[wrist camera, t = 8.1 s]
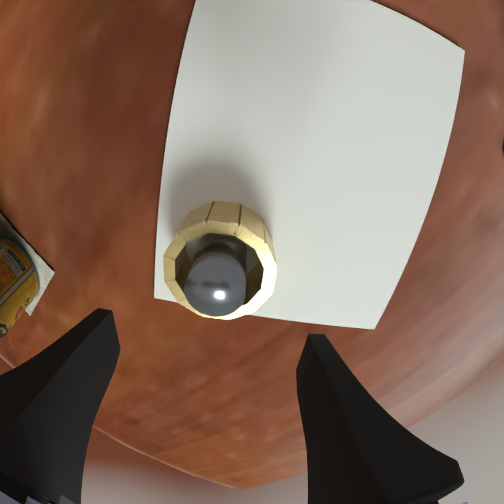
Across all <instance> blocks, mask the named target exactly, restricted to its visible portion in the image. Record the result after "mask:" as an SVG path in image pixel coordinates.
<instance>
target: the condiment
mask: <svg viewBox="0 0 504 504" xmlns="http://www.w3.org/2000/svg"><path fill="white" fill-rule="evenodd" d="M8 234H9V236H8ZM53 275H54V272H53V271H52V270H51V269H50V268H49V266H48V265H47V264H46V263H45V262H44V261H43V260H42V259H41V258H40V256H39V255H37V254H36V253H35V252H34V250H33V249H32V248H31V247H30V246H29V245H28V244H27V243H26V242H25V240H24V239H23V238H22V237H21V236H19V234H18V233H17V232H15V231H14V230H13V229H12V227H11V225H10V224H9V223H8V222H7V221H6V219H5V218H4V217H3V215H2V214H1V213H0V341H1V339H2V338H3V337H4V336H5V335H6V333H7V332H8V330H9V329H10V328H11V327H12V326H13V324H14V323H15V321H16V320H17V319H18V318H19V317H20V316H21V314H22V313H23V311H24V310H25V311H26V312H27V313H28V314H29V316H31V314H32V312H33V310H34V308H35V306H36V305H37V303H38V301H39V299H40V298H41V296H42V294H43V292H44V290H45V289H46V287H47V285H48V283H49V282H50V280H51V278H52V277H53Z"/></svg>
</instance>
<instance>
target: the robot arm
mask: <svg viewBox="0 0 504 504" xmlns="http://www.w3.org/2000/svg"><path fill="white" fill-rule="evenodd" d="M119 353H120V345H119V340H118V336H117V331H116V327H115V322H114V317H113V312H112V311H111V310H106V309H101V308H98V309H96V310H95V311H93V312H92V313H91V314H90V315H88V316H87V317H86V318H85V319H83V320H82V321H81V322H80V323H78V324H77V325H76V326H75V327H73V328H72V329H71V330H69V331H68V332H67V333H66V334H64V335H63V336H62V337H61V338H59V339H58V340H57V341H55V342H54V343H53V344H51V345H50V346H48V347H47V348H46V349H44V350H43V351H42V352H40V353H39V354H37V355H36V356H34V357H33V358H31V359H30V360H28V361H26V362H25V363H23V364H21V365H20V366H18V367H16V368H14V369H12V370H10V371H8V372H6V373H4V374H2V375H0V504H49V503H50V504H81V488H82V477H83V469H84V462H85V456H86V450H87V446H88V441H89V437H90V433H91V429H92V425H93V422H94V419H95V416H96V414H97V411H98V409H99V406H100V404H101V401H102V399H103V397H104V394H105V392H106V390H107V387H108V385H109V382H110V380H111V378H112V375H113V373H114V370H115V367H116V364H117V360H118V356H119ZM296 379H297V395H298V401H299V407H300V413H301V418H302V424H303V430H304V435H305V441H306V449H307V465H308V504H439V503H438V500H439V499H441V498H443V497H444V496H446V495H448V494H450V493H451V492H453V491H455V490H456V489H458V488H459V487H460V486H461V485H462V484H463V483H464V478H463V475H462V472H461V470H460V467H459V464H458V462H457V461H456V460H455V459H453V458H451V457H449V456H447V455H445V454H443V453H441V452H439V451H437V450H436V449H434V448H432V447H431V446H429V445H428V444H426V443H425V442H423V441H422V440H420V439H419V438H417V437H416V436H415V435H413V434H412V433H411V432H409V431H408V430H407V429H406V428H404V427H403V426H402V425H401V424H399V423H398V422H397V421H396V420H395V419H394V418H393V417H391V416H390V415H389V414H388V413H387V412H386V411H385V410H384V409H383V408H382V407H381V406H380V405H379V404H378V403H377V402H376V401H375V400H374V399H373V398H372V396H371V395H370V394H369V393H368V392H367V391H366V389H365V388H364V387H363V386H362V385H361V383H360V382H359V381H358V380H357V378H356V377H355V376H354V374H353V373H352V372H351V371H350V369H349V368H348V367H347V365H346V364H345V363H344V361H343V360H342V358H341V357H340V356H339V354H338V353H337V351H336V350H335V348H334V347H333V346H332V344H331V343H330V341H329V340H328V338H327V337H326V336H325V334H308V337H307V340H306V343H305V346H304V349H303V352H302V355H301V358H300V361H299V363H298V366H297V369H296ZM462 504H467V502H464V503H462Z"/></svg>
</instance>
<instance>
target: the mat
mask: <svg viewBox="0 0 504 504" xmlns="http://www.w3.org/2000/svg"><path fill="white" fill-rule="evenodd" d="M464 53H465V51H464V50H462V49H461V48H459V47H458V46H456V45H455V44H453V43H452V42H450V41H449V40H447V39H445V38H444V37H442V36H441V35H439V34H437V33H435V32H434V31H432V30H430V29H428V28H427V27H425V26H423V25H421V24H419V23H418V22H416V21H414V20H412V19H410V18H408V17H406V16H404V15H402V14H400V13H398V12H395V11H393V10H391V9H389V8H387V7H384V6H382V5H380V4H377V3H375V2H373V1H370V0H196V2H195V6H194V9H193V13H192V16H191V20H190V24H189V28H188V32H187V36H186V40H185V44H184V48H183V53H182V57H181V61H180V66H179V71H178V76H177V81H176V86H175V91H174V96H173V102H172V108H171V114H170V120H169V126H168V133H167V139H166V147H165V154H164V162H163V170H162V179H161V189H160V199H159V210H158V223H157V238H156V257H155V287H154V298H158V299H163V300H168V301H173V302H177V300H176V299H175V297H174V296H173V294H172V293H171V291H170V290H169V288H168V287H167V285H166V284H165V280H164V269H163V256H164V253H165V251H166V249H167V248H168V246H169V244H170V242H171V240H172V239H173V237H174V235H175V233H176V231H177V230H178V228H179V227H180V225H181V224H182V222H183V221H184V219H185V218H186V216H187V215H188V213H189V212H190V211H192V210H194V209H196V208H199V207H201V206H203V205H205V204H208V203H210V202H212V201H213V202H215V201H222V202H231V203H240V206H241V205H242V204H243V205H244V206H245V207H247V208H248V209H250V210H251V211H253V212H254V213H255V214H257V215H258V216H260V217H261V218H262V220H264V222H265V224H266V227H267V229H268V231H269V233H270V236H271V238H272V240H273V246H274V252H275V258H276V265H277V271H276V277H275V282H274V287H273V292H272V294H271V295H270V296H269V297H268V298H267V299H266V300H265V301H264V302H263V303H262V304H261V305H260V306H259V307H258V308H257V309H256V310H254V312H251V313H248V314H249V315H255V316H262V317H269V318H276V319H284V320H291V321H299V322H307V323H316V324H325V325H334V326H344V327H354V328H365V329H375V327H376V325H377V323H378V321H379V319H380V317H381V315H382V314H383V312H384V310H385V308H386V306H387V304H388V302H389V300H390V298H391V296H392V294H393V292H394V289H395V287H396V285H397V283H398V281H399V279H400V277H401V275H402V272H403V270H404V268H405V266H406V263H407V261H408V259H409V256H410V254H411V252H412V249H413V247H414V244H415V242H416V240H417V237H418V234H419V232H420V229H421V227H422V224H423V221H424V219H425V216H426V213H427V211H428V208H429V205H430V202H431V199H432V196H433V193H434V190H435V187H436V184H437V181H438V177H439V174H440V171H441V167H442V164H443V160H444V157H445V153H446V149H447V146H448V142H449V138H450V134H451V129H452V125H453V120H454V116H455V111H456V106H457V101H458V95H459V89H460V83H461V77H462V70H463V62H464ZM202 236H203V235H202ZM202 236H200V237H198V238H195V239H193V240H191V241H188V242H187V243H186V254H187V256H188V257H189V259H190V261H191V263H192V262H193V259H194V256H195V253H196V250H197V248H198V245H199V242H200V239H201V237H202ZM246 246H247V256H246V275H248V274H249V272H250V271H251V270H252V269H253V268H254V267H255V266H256V264H257V263H258V262H259V261H260V259H259V257H258V254H257V252H256V250H255V249H254V248H253V247H251V246H250V245H248V244H247V243H246ZM179 303H180V302H179Z"/></svg>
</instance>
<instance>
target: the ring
mask: <svg viewBox="0 0 504 504" xmlns="http://www.w3.org/2000/svg"><path fill="white" fill-rule="evenodd" d="M207 233H216V234H226V235H235V236H236V237H238V238H239V239H241V240H242V241H244V242H245V243H247V244H248V245H250V246H251V247H253V248H254V249H255V250H256V252H257V254H258V257H259V259H260V261H259V262H258V263H257V264H256V266H255V267H254V268H253V269H252V270H251V271H250V272H249V274H248V275H246V295H245V300H244V302H243V304H242V306H241V307H240V308H239V309H238V310H237V311H235V312H234V313H232V314H230V315H226V316H221V317H213V316H208V315H205V314H202V313H200V312H198V311H197V310H195V309H194V308H193V307H192V306H191V305H190V304H189V303H188V301H187V299H186V297H185V293H184V286H185V282H186V279H187V276H188V273H189V270H190V267H191V264H192V263H191V261H190V259H189V257H188V256H187V254H186V243H187V242H188V241H191V240H193V239H195V238H198V237H200V236H202V235H205V234H207ZM163 269H164V280H165V284H166V285H167V287H168V288H169V290H170V291H171V293H172V294H173V296H174V297H175V299H176V300H177V302H180V303H179V304H181V305H182V306H184V307H186V308H188V309H189V310H191V311H193V312H194V313H196V314H198V315H200V316H202V315H203V317H208V318H218V319H227V320H228V318H229V319H233V318H236V317H239V316H242V315H245V314H248V313H251V312H254V310H256V309H257V308H258V307H259V306H260V305H261V304H262V303H263V302H264V301H265V300H266V299H267V298H268V297H269V296H270V295H271V294H272V292H273V287H274V282H275V277H276V271H277V265H276V258H275V252H274V246H273V240H272V238H271V236H270V233H269V231H268V229H267V227H266V224H265V222H264V220H262V218H261V217H260V216H258V215H257V214H255V213H254V212H253V211H251V210H250V209H248V208H247V207H245V206H244V205H243V204H242V205H241V206H240V203H231V202H222V201H215V202H213V201H212V202H210V203H208V204H205V205H203V206H201V207H199V208H196V209H194V210H192V211H190V212H189V213H188V215H187V216H186V218H185V219H184V221H183V222H182V224H181V225H180V227H179V228H178V230H177V231H176V233H175V235H174V237H173V239H172V240H171V242H170V244H169V246H168V248H167V249H166V251H165V253H164V256H163Z"/></svg>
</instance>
